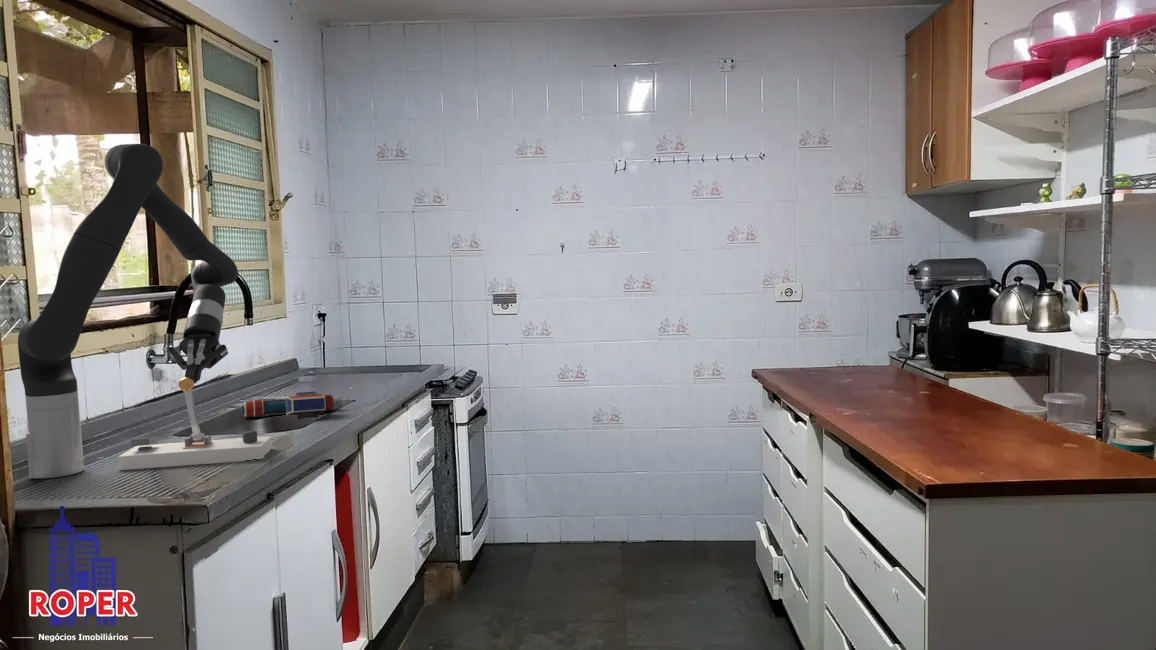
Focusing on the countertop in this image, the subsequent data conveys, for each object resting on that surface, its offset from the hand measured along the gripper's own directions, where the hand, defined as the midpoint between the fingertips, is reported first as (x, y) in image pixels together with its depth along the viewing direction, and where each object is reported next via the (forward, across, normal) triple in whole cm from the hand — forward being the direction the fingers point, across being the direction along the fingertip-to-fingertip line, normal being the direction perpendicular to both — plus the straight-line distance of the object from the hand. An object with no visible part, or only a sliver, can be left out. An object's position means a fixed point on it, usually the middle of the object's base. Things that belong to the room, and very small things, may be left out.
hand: (191, 381), depth 172 cm
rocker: (+8, -11, +10) cm, 17 cm away
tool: (-22, +11, +48) cm, 55 cm away
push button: (+9, +11, +11) cm, 18 cm away
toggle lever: (+8, 0, +10) cm, 13 cm away
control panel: (+11, 0, +14) cm, 18 cm away
